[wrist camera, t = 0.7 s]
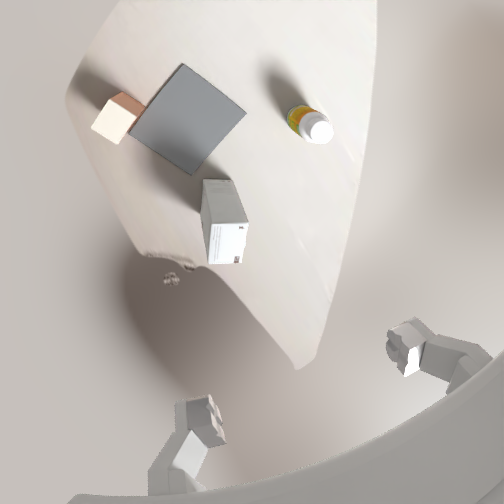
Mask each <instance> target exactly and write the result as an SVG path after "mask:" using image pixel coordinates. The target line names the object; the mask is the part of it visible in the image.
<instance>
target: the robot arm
mask: <svg viewBox="0 0 504 504" xmlns="http://www.w3.org/2000/svg"><path fill="white" fill-rule="evenodd" d="M387 337H388V338H389V340H388V341H387V343H386V350H387V354H388V356H389V358H390V359H391V360H392V361H394V362H397V368H398V369H399V370H400V371H401V372H402V374H403V375H404V376H406V375H408V374H410V373H411V372H413V371H415V370H417V369H419V370H421V371H424V372H426V373H428V374H431V375H433V376H436V377H438V378H440V379H442V380H445V381H447V382H449V385H448V388H447V390H446V394H447V396H445V397H444V398H442V399H441V400H439V401H438V402H437V403H435V404H433V405H432V406H430V407H429V408H427V409H425V410H424V411H422V412H421V413H419V414H417V415H416V416H414V417H412V418H411V419H409V420H407V421H406V422H404V423H402V424H400V425H398V426H397V427H395V428H393V429H391V430H389V431H387V432H385V433H384V434H381V435H379V436H377V437H376V438H373V439H372V440H369V441H367V442H365V443H363V444H361V445H359V446H356V447H354V448H352V449H350V450H347V451H345V452H343V453H340V454H338V455H335V456H333V457H330V458H328V459H326V460H323V461H320V462H317V463H314V464H312V465H309V466H306V467H303V468H300V469H297V470H294V471H290V472H287V473H284V474H280V475H277V476H274V477H270V478H266V479H262V480H258V481H254V482H250V483H245V484H241V485H236V486H231V487H226V488H221V489H214V490H208V491H207V490H206V488H205V487H204V486H203V485H201V484H200V483H199V482H198V481H196V480H195V478H196V476H197V474H198V471H199V469H200V467H201V464H202V462H203V460H204V458H205V455H206V453H207V451H208V449H207V448H211V447H215V446H220V445H224V444H226V439H225V434H224V431H223V429H222V428H221V425H222V424H223V423H222V419H221V415H220V412H219V409H218V407H217V405H216V404H214V403H213V399H212V397H211V395H204V396H199V397H194V398H190V399H184V400H180V401H176V402H175V426H176V427H175V428H176V432H174V433H172V435H171V436H170V438H169V439H168V441H167V442H166V444H165V445H164V447H163V449H162V450H161V452H160V453H159V455H158V456H157V458H156V459H155V461H154V463H153V464H152V466H151V467H150V469H149V470H148V496H100V495H89V494H78V495H76V496H74V497H73V498H72V499H71V500H70V501H69V502H68V503H67V504H504V350H503V351H502V352H501V353H499V354H498V355H497V356H496V357H495V358H494V359H493V358H492V357H491V356H490V355H489V354H488V353H487V352H486V351H485V350H484V349H483V348H482V347H481V346H479V345H478V344H475V343H471V342H467V341H462V340H458V339H454V338H450V337H446V336H443V335H435V334H434V333H433V332H432V331H431V330H430V329H429V328H428V327H427V326H426V325H424V324H423V323H422V322H421V321H420V320H419V319H418V318H416V317H413V318H412V319H409V320H408V321H406V322H403V323H401V324H399V325H397V326H395V327H393V328H391V329H389V330H388V332H387Z"/></svg>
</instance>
